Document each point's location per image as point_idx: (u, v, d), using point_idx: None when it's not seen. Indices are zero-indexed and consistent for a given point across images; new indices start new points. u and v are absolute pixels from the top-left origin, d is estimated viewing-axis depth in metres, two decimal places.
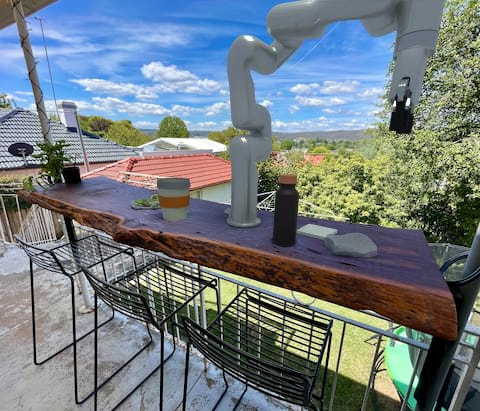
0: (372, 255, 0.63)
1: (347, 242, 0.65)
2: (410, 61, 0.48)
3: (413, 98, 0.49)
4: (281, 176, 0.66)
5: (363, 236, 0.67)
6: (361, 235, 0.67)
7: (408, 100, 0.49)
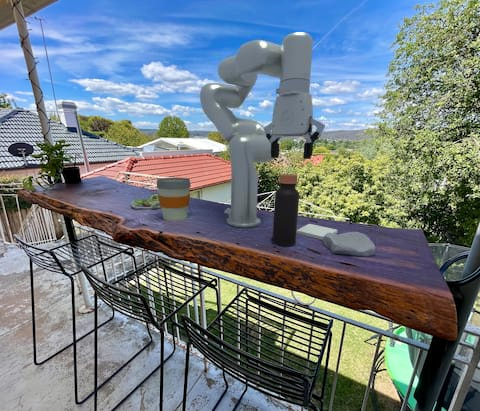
0: (370, 253, 0.64)
1: (345, 241, 0.65)
2: (311, 104, 0.60)
3: None
4: (281, 176, 0.66)
5: (361, 235, 0.68)
6: (359, 234, 0.68)
7: None
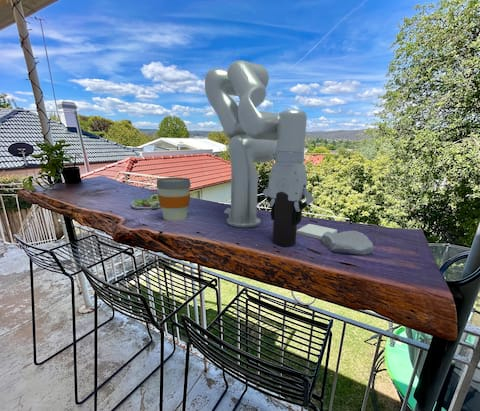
0: (368, 252, 0.65)
1: (344, 239, 0.66)
2: (305, 173, 0.64)
3: None
4: None
5: (359, 234, 0.69)
6: (357, 233, 0.69)
7: None
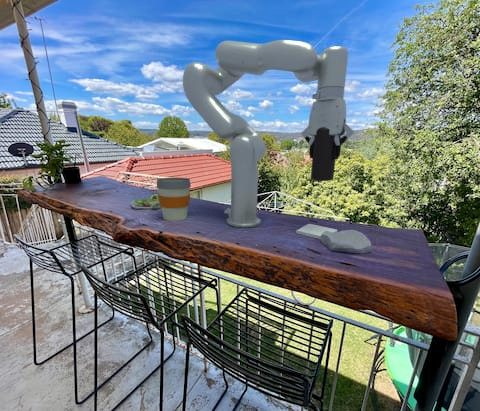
0: (367, 251, 0.65)
1: (343, 239, 0.67)
2: (345, 108, 0.69)
3: None
4: None
5: (358, 233, 0.70)
6: (356, 232, 0.70)
7: None
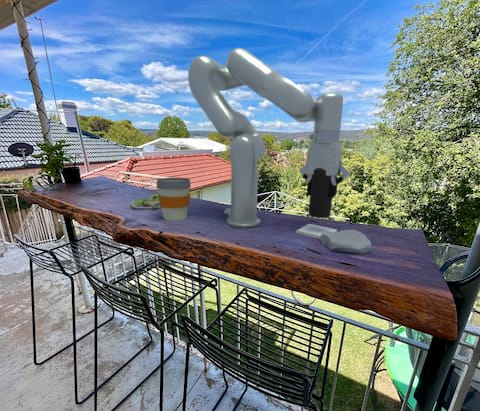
0: (367, 250, 0.65)
1: (343, 238, 0.67)
2: (341, 151, 0.72)
3: None
4: None
5: (357, 232, 0.70)
6: (355, 232, 0.70)
7: None
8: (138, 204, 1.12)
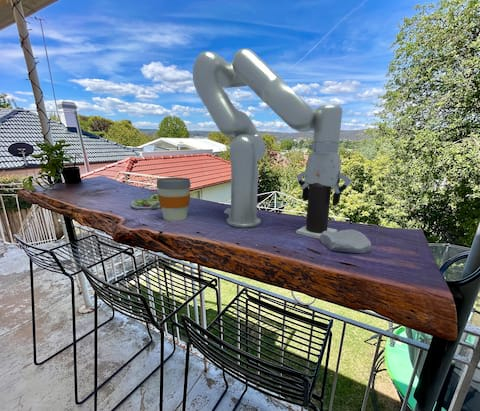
0: (367, 250, 0.66)
1: (343, 238, 0.67)
2: (339, 161, 0.72)
3: None
4: None
5: (357, 232, 0.70)
6: (355, 231, 0.70)
7: (339, 186, 0.74)
8: (138, 204, 1.12)
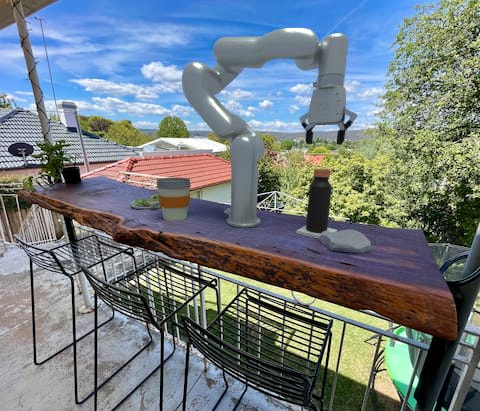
0: (366, 250, 0.66)
1: (342, 238, 0.67)
2: (345, 96, 0.69)
3: None
4: (316, 170, 0.75)
5: (357, 232, 0.70)
6: (355, 231, 0.70)
7: (344, 124, 0.71)
8: (138, 204, 1.12)
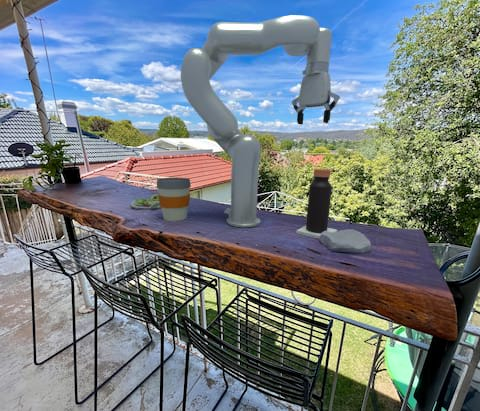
0: (366, 250, 0.66)
1: (343, 238, 0.67)
2: (329, 81, 0.82)
3: None
4: (316, 170, 0.75)
5: (356, 232, 0.70)
6: (354, 231, 0.70)
7: (329, 105, 0.84)
8: (138, 204, 1.12)
